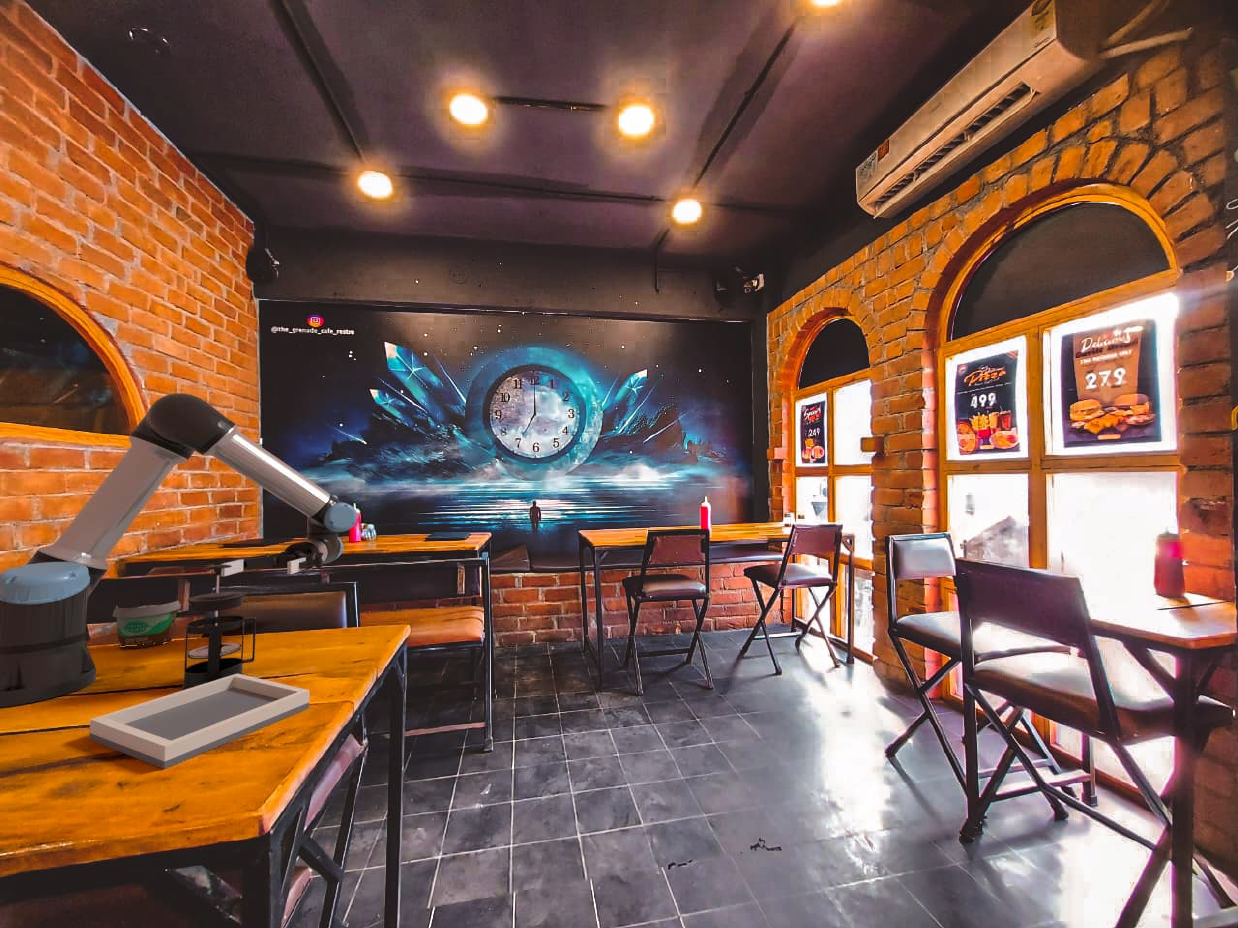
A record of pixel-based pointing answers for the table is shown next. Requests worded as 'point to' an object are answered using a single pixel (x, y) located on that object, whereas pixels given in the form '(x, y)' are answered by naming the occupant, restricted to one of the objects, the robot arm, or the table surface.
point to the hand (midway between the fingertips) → (256, 569)
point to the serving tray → (197, 718)
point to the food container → (146, 625)
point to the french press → (215, 637)
